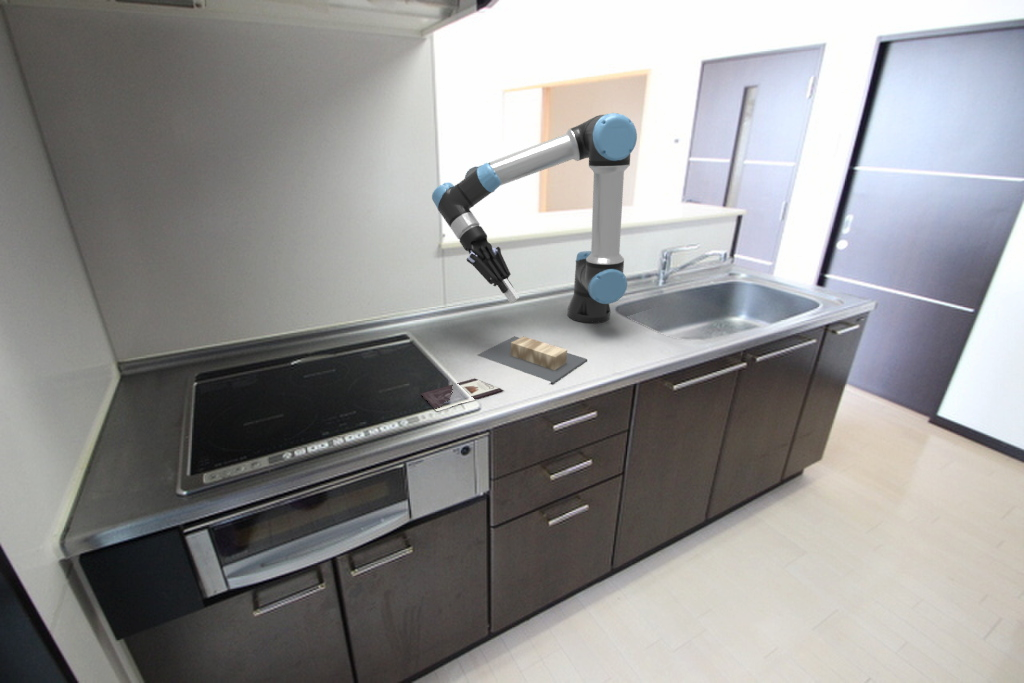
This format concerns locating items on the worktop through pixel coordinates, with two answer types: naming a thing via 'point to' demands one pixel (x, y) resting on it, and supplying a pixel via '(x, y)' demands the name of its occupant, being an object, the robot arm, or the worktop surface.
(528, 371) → the rubber mat
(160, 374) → the worktop surface
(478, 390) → the chocolate bar
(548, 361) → the wooden block
